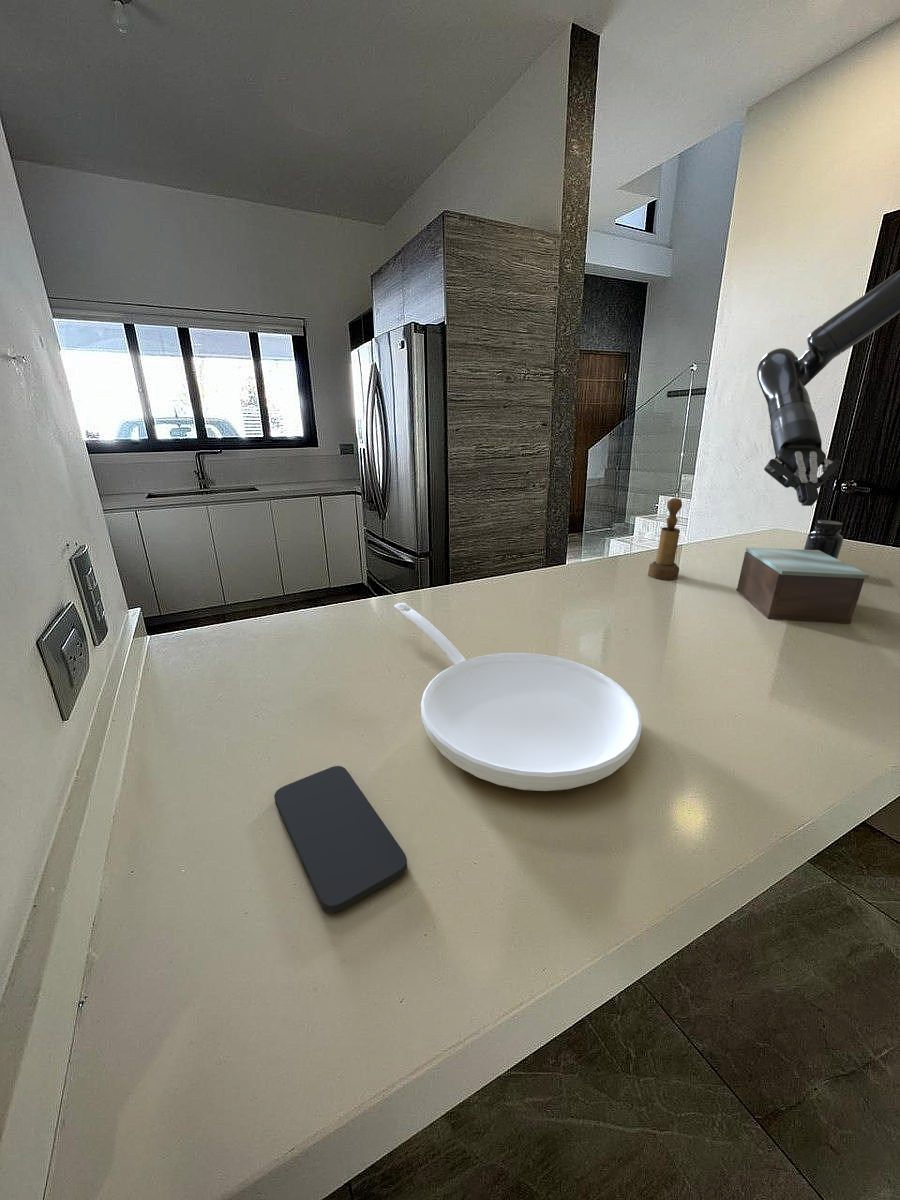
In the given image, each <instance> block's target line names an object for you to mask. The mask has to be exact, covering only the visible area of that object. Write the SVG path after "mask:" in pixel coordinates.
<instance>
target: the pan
mask: <svg viewBox="0 0 900 1200" xmlns="http://www.w3.org/2000/svg"><path fill="white" fill-rule="evenodd" d="M392 608H393V609H394V610H395V611H396V612H398V613H400V614H401V615H402V616H403V617H404V618H406V619H407V620H409V622H410V623H412V624H413V625H414V626H416V628H418V629H419V630H420V631H421V632H422V633H423V634H425V635H426V637H428V638H429V640H431V641H432V642H433V643H434V645H436V646H437V647H438V648H439V649H440V650H441V651H442V652H443V654H444V655H445V656H446V657H447V658H448V660H449V661H450V662H451V663H452V665H451V666H449V667H447V668H445V669H444V670H442V671H441V672H439V673H438V674H437V675H436V676H435V677H433V679H431V680H430V681H429V683H428V685H427V686H426V688H425V690H424V691H423V694H422V698H421V701H420V710H421V720H422V725H423V727H424V729H425V731H426V734H427V736H428V739H429V740H430V741H431V742H432V744H433V745H434V747H436V749H437V750H438V751H439V753H441V755H442V756H444V758H446V759H447V760H448V761H450V762H451V763H453V764H454V766H456V767H458V768H460V769H462V770H463V771H465V772H466V773H469V774H470V775H473V776H474V777H476V778H479V779H481V780H484V781H487V782H488V783H489V782H490V783H493V784H495V785H498V786H501V787H502V786H503V787H507V788H513V789H517V790H521V791H536V792H537V791H538V792H550V791H551V792H553V791H564V790H571V789H574V788H575V789H576V788H579V787H582V786H587V785H590V784H594V783H596V782H598V781H600V780H603V779H604V778H606V777H609V776H611V775H612V774H614V772H617V770H619V769H620V768H621V767H623V766H624V765H625V764H626V763H627V762H628V761H629V760H630V758H631V757H632V755H633V754H634V753H635V751H636V749H637V747H638V745H639V742H640V738H641V734H642V730H643V722H642V715H641V712H640V709H639V708H638V705H637V703H636V701H635V700H634V699H633V697H632V696H631V695H630V693H628V691H627V690H626V689H625V688H623V687H622V686H621V685H620V684H619V683H617V682H616V681H615V680H613V679H612V678H610V677H608V676H607V675H605V674H603V673H602V672H600V671H598V670H596V669H594V668H592V667H589V666H587V665H585V664H582V663H579V662H576V661H573V660H569V659H567V658H564V657H558V656H554V655H549V654H540V653H534V652H499V653H497V652H496V653H492V654H491V653H490V654H484V655H480V656H476V657H471V658H468V659H466V657H464V656H463V655H462V654H461V652H460V651H459V650H458V649H457V648H456V646H455V645H454V644H453V643H452V642H451V641H450V640H449V639H448V638H447V637H446V636H445V635H444V634H443V633H442V632H441V631H440V630H439V629H438V628H437V627H436V626H435V625H433V623H431V621H429V620H428V619H427V618H426V617H424V616H423V615H421V614H420V613H419V612H418V611H416V610H415V609H413V608H412V607H411V606H409V605H408V604H407V603H405V602H398V603H396V604H394V605H393V607H392Z"/></svg>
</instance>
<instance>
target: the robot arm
mask: <svg viewBox="0 0 900 1200" xmlns="http://www.w3.org/2000/svg"><path fill="white" fill-rule="evenodd" d="M899 313H900V269H899V270H898V271H896V272H895V273H893V274H892V275H891V276H889V277H888V278H887V279H885V280H884V281H882V282H881V283H880V284H878V285H877V286H875V287H874V288H873V289H871V290H869V291H867V292H866V293H865V294H864V295H862V296H861V297H859V298H858V299H856V300H855V301H853V302H852V303H851V304H849V305H848V306H846V307H844V308H843V309H841V311H839V312H837V313H836V314H835V315H833V316H832V317H830V318H829V319H828V320H826V321H825V322H823V323H822V324H821V325H819V326H818V327H817V328H815V329H813V330H812V332H810V333H809V335H808V336H807V338H806V339H807V340H806V341H807V347H808V349H807V350H806V351H805V353H804V354H803V355H802V356H801V357H800V358H798V356H797V355H796V354H795V353H794V351H792V350H791V349H789V348H785V347H781V348H780V347H779V348H775V349H772V350H771V351H769V352H768V353H766V354H765V355H764V356H763V357H762V359H761V360H760V361H759V364H758V366H757V371H756V376H757V381H758V384H759V387H760V389H761V391H762V394H763V396H764V399H765V401H766V404H767V411H768V415H769V420H770V435H771V440H772V444H773V445H772V446H773V451H774V455H775V457H774V458H771V459H769V461H768V462H767V463H766V465H765V466H764V468H763V471H764V472H766V473H767V474H768V475H769V476H770V477H771V478H773V479H774V480H775V481H777V482H778V483H779V484H780V485H782V487H784V488H786V489H787V488H793V489H794V490H795V492H796V497H797V501H798V503H800V504H801V506H802V507H812V506H814V504H815V503H816V502H817V501H818V499H819V498H820V494H819V490H818V489H820V488H821V487H822V486H823V485H824V483H825V482H826V481H827V480H828V479H829V478H830V477H831V476H832V474H833V473H834V472H835V471H836V470H837V469H838V468H839V466H840V465H841V464H842V462H841V460H840V459H834V460H831V459H829V458H827V454H826V453H825V452H824V451H823V449H822V445H823V442H822V437H821V433H820V429H819V425H818V421H817V417H816V413H815V411H814V409H813V407H812V406H813V405H812V403H811V399H810V395H809V392H808V390H807V388H806V387H805V386H807V385H808V384H809V383H810V382H811V381H812V380H814V378H815V377H816V376H818V374H819V373H820V372H822V371H823V370H824V369H825V367H826V366H828V365H829V364H830V362H832V361H833V360H834V359H835V358H837V357H838V356H841V354H843V353H844V352H845V351H847V350H849V349H850V348H852V347H854V345H856V344H858V343H859V342H861V341H862V340H864V339H865V338H866V337H868V336H870V335H871V334H872V333H874V332H875V331H877V330H878V329H879V328H880V327H882V326H883V325H885V324H886V323H887V322H889V321H890V320H891V319H892V318H894V317H896V316H897V315H898V314H899ZM820 466H821V472H822V473H821V475H820V476H818V472H819V468H820Z"/></svg>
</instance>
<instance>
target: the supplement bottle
mask: <svg viewBox="0 0 900 1200" xmlns="http://www.w3.org/2000/svg"><path fill="white" fill-rule="evenodd" d="M842 528H843V522H840V521H837V520H829V519H818V520H817V521H816V523H815V527H814V529H815V530H813V531H811V532H809V533H808V534H807V536H806V540H805V544H804V547H803V550H819V551H821V552H823V553H825V554H827V555H829V556H832V557H834V558H836V559H838V558H839V555H840V552H841V549H842V545H843V542H844V537H843V536H842V535H841V534H840V532H842Z"/></svg>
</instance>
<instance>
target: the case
mask: <svg viewBox="0 0 900 1200" xmlns="http://www.w3.org/2000/svg"><path fill="white" fill-rule="evenodd" d="M864 583H865V579H864V578H843V577H822V576H801V575H781V574H780V573H778V572H777V571H775V570H774V569H772V568H771V567H769V566H768V565H766V564H765V563H763V562H762V561H760V560H759V559H757V558H756V557H754V556H753V555H751V554H750V553H748V552H747V551H746V550H745V551H744V556H743V560H742V565H741V569H740V574H739V578H738V582H737V586H736V592H737V593H738V594H739V595H740V596H742V597H743V598H744V599H745V600H746V601H747V602H749V603H750V604H751V605H752V606H753V607H754V608H755V609H756V610H758V611H759V613H761V615H763V616H764V617H765V618H766V619H769V620H784V621H798V622H799V621H801V622H815V623H816V622H817V623H818V622H819V623H830V624H831V623H832V624H851V623H852V619H853V617H854V613H855V610H856V607H857V604H858V602H859V597H860V595H861V591H862V589H863V587H864V586H863V585H864Z"/></svg>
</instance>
